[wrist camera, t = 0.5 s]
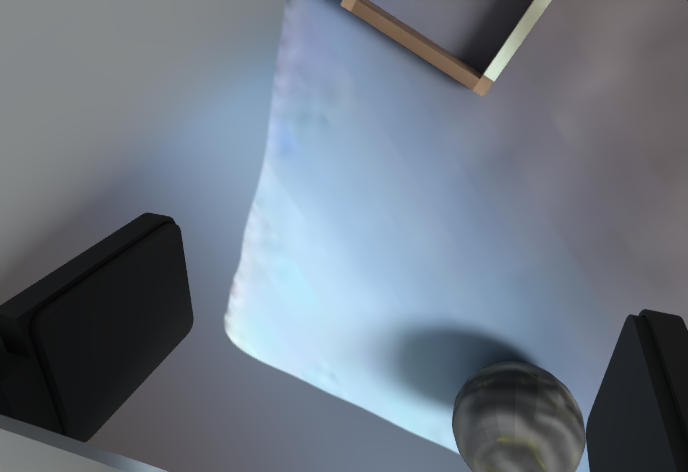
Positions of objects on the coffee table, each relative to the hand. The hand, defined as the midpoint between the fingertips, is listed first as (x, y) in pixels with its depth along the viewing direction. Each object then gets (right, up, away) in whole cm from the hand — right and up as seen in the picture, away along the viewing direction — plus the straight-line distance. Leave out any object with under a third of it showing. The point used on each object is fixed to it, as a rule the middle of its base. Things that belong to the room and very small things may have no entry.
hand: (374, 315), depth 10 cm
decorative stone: (+15, -11, +34) cm, 38 cm away
